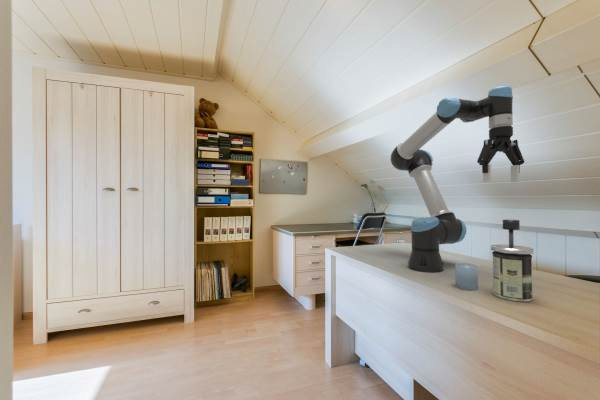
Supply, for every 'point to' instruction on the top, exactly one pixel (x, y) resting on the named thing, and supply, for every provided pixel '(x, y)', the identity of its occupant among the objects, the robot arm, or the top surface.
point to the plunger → (511, 240)
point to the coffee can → (512, 276)
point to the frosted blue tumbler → (466, 276)
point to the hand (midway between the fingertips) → (501, 181)
